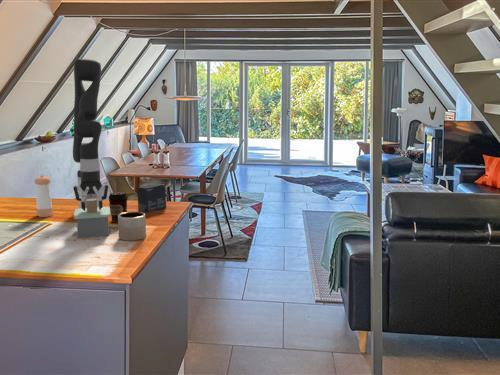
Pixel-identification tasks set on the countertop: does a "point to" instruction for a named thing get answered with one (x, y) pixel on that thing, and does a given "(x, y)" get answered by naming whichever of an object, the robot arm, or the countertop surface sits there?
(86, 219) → the bin
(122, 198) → the coffee cup
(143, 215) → the planter
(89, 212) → the lid
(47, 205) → the pepper shaker
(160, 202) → the small box
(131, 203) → the countertop surface
